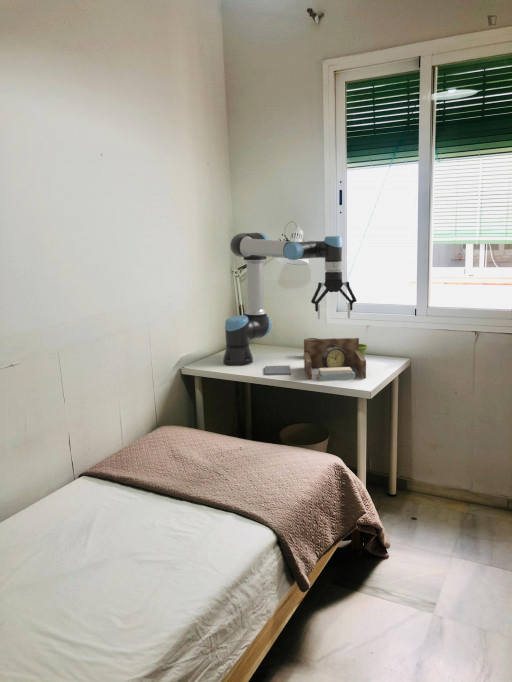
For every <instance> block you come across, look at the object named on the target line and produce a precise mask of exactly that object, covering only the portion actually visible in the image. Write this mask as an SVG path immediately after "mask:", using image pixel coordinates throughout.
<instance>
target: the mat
mask: <svg viewBox="0 0 512 682" xmlns="http://www.w3.org/2000/svg"><path fill="white" fill-rule="evenodd" d="M291 374H292V373H291V365H265V366H264V376H282V375H283V376H285V375H291Z"/></svg>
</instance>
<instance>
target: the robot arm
mask: <svg viewBox="0 0 512 682" xmlns="http://www.w3.org/2000/svg"><path fill="white" fill-rule="evenodd" d="M342 241H343V239H342V236H340V235H335V236H333V235H331V236H327V235H326V236H325V237H324V240H308V241H288V240H287V241H285V240H272V239H269V237H268V236H267V235H266V234H265V233H262V232H250V233H249V232H248V233H247V232H246V233H245V232H243V233H241V232H240V233H238V234H235V235H234V236H233V237H232V238H231V240H230V244H229V246H230V250H231V252H232V253H233V255H235V256H236V257H239V258H243V262H245V263H246V295H247V298H246V299H247V300H246V304H247V305H246V306H247V307H246V308H247V310H246V311H244V315H241V314H240V315H234V316H231V317H227V318H226V320H225V323H224V324H225V325H224V329H225V346H226V347H225V351H224V355H223V360H222V361H223V364H224V365H226V364H227V365H226V366H232V365H240V366H245V365H246V364H247V365H251V364H252V363H253V362H254V357H253V354H252V352H251V349H250V340H254V339H261V338H264V337H265V336H267V335H268V334H270V332H271V330H272V320H271V319H270V317H269V315H268V311H266V309H265V305H264V304H265V302H264V300H265V299H264V295H265V293H264V292H265V291H264V288H265V287H264V286H265V283H264V282H265V281H264V263H265V262H266V261H267V257H269V258H281V259H287V260H290V261H297V260H304V259H306V260H307V259H316V258H317V259H318V258H319V259H320V258H321V259H323V258H324V271H325V273H324V282H318V283H317V288H316V290H315V292H314V294H313V296H312V298H311V301H310V302H311V304H314V307H315V308H314V309H315V310H314V311H315V312H317V319H318V320H321V316H320V315H321V310H320V308H321V305H320V302H321V301H322V300H323V299H324V297H325V296H326V295H327V294H328V293H338V292H340V294H341V295H342V296H343V297H344V298H345V299H346V300H347V302H348V303H347V318H348V319H351V311H353V304H354V303H356V302H357V301H358V300H357V298H356V296H355V294H354V292H353V291H352V288H351V286H350V282H349V281H343V272H342V270H343V259H342V257H343V242H342ZM323 286H324V287H325V289H324V290H323V291H322V293H321V295H320V296H319V297H318V295H319V293H320V291H321V289H322V288H323ZM343 286H344V287H345V288H346V289H347V291H348V294H349V295H350V297H351V298H350V297H349V296H348V295H347V294H346V292H345V291H344V290H343V289H342V287H343ZM317 297H318V298H317ZM250 363H251V364H250ZM247 365H246V366H247Z"/></svg>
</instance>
